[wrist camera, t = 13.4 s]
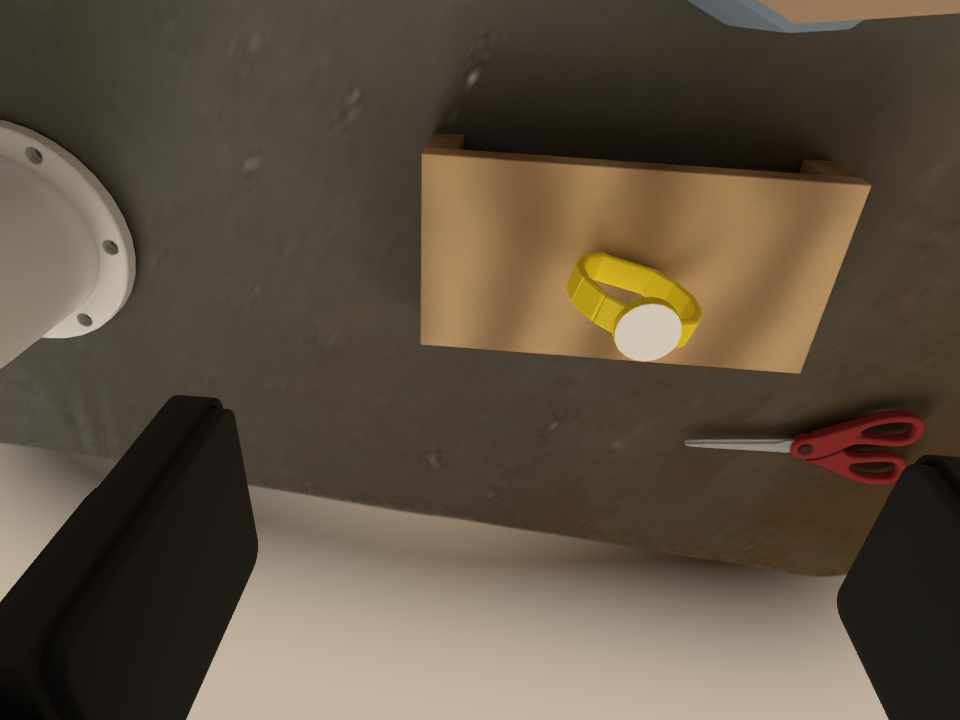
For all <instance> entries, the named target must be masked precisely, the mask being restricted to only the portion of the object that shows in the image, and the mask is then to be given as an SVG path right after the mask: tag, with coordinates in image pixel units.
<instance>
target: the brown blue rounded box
mask: <svg viewBox="0 0 960 720" xmlns="http://www.w3.org/2000/svg"><path fill="white" fill-rule="evenodd" d="M688 1H689V2H690V3H692V4H693V5H695V6H697V7H698V8H700V9H702V10H703V11H705V12H706V13H708V14H710V15H711V16H713V17H714V18H716V19H718V20H719V21H721V22H723V23H724V24H726V25H727V26H735V27H743V28H752V29H760V30H768V31H776V32H785V33H797V32H812V31H828V30H844V29H850V28H852V27H854V26H855V25H857V24H858V23H860V22H862V21H863V20H865V19H879V18H894V17H909V16H924V15H939V14H954V13H960V0H688Z"/></svg>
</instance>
